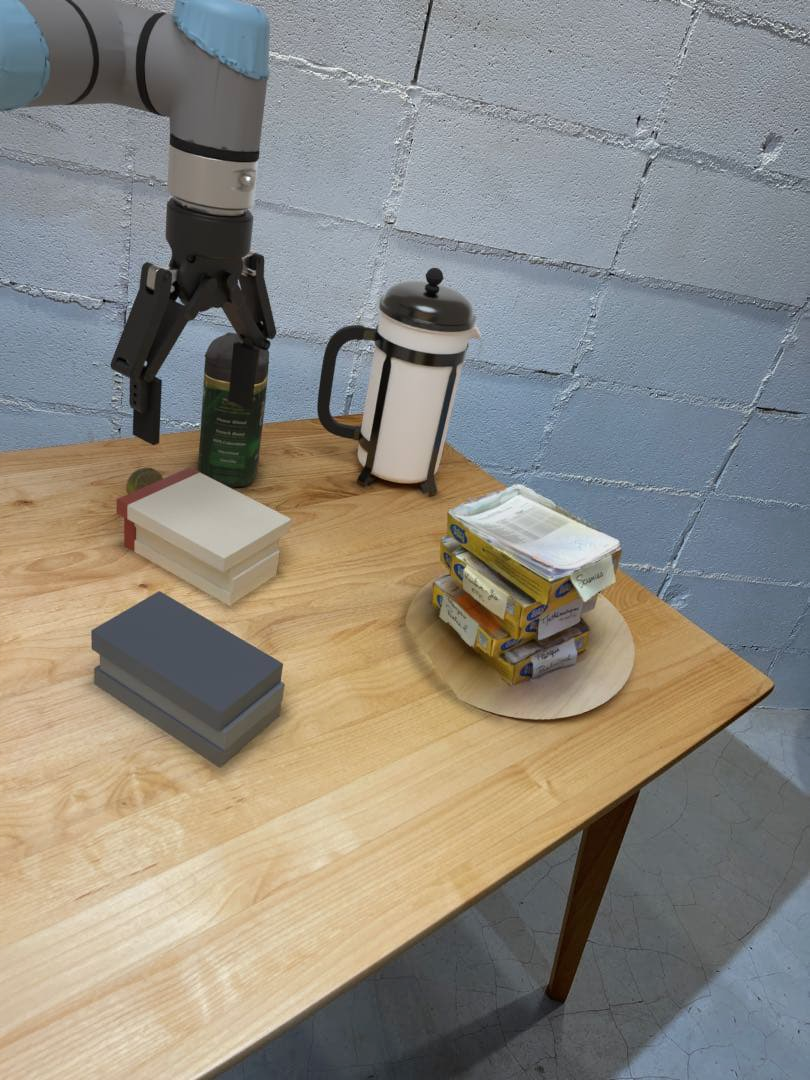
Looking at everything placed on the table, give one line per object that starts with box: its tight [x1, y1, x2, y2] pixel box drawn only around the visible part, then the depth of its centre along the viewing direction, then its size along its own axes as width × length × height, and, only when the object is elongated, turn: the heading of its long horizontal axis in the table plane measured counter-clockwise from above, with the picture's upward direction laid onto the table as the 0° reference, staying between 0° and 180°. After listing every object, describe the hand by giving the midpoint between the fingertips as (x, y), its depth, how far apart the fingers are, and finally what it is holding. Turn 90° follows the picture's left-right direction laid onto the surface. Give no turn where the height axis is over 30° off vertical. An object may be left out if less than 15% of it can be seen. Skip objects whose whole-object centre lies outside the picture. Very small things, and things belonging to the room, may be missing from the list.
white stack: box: [123, 517, 281, 606], centre depth 91 cm, size 16×8×5 cm, turn 59°
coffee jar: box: [197, 332, 270, 488], centre depth 106 cm, size 10×8×19 cm
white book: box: [116, 466, 292, 572], centre depth 89 cm, size 15×11×2 cm
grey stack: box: [90, 590, 286, 769], centre depth 73 cm, size 15×8×7 cm, turn 59°
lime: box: [125, 467, 164, 495], centre depth 99 cm, size 4×5×5 cm
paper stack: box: [405, 483, 636, 720], centre depth 86 cm, size 25×25×17 cm
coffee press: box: [316, 267, 483, 497], centre depth 110 cm, size 17×16×30 cm
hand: (196, 420), depth 83 cm, fingers open, 13 cm apart
